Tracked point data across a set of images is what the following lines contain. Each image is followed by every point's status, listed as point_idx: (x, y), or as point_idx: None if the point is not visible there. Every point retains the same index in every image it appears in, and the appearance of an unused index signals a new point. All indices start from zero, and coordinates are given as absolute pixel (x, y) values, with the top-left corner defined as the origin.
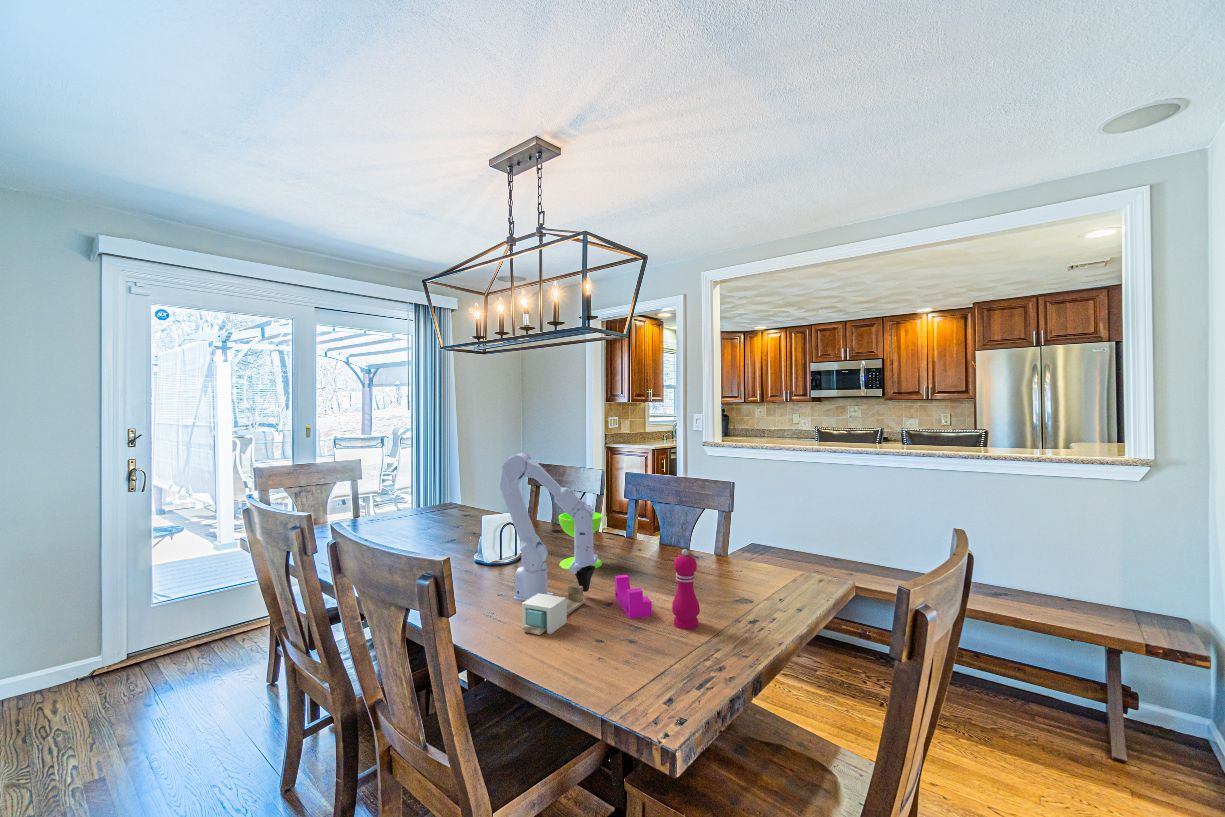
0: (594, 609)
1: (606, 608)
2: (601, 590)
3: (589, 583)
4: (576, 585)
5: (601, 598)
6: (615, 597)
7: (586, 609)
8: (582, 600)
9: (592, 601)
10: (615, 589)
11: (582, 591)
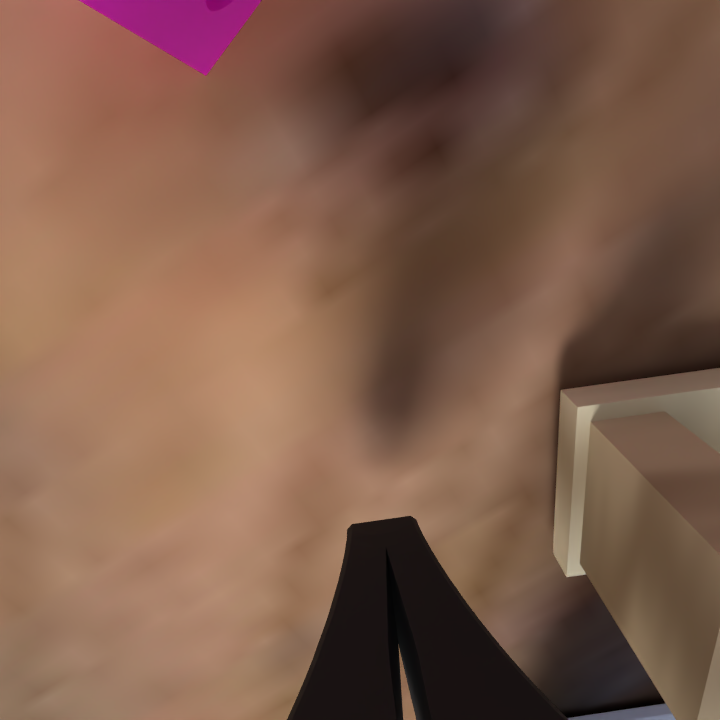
0: (676, 164)
1: (585, 7)
2: (21, 479)
3: (356, 600)
4: (714, 667)
5: (263, 318)
6: (203, 53)
7: (703, 263)
8: (610, 416)
9: (420, 356)
10: (161, 7)
11: (680, 498)
